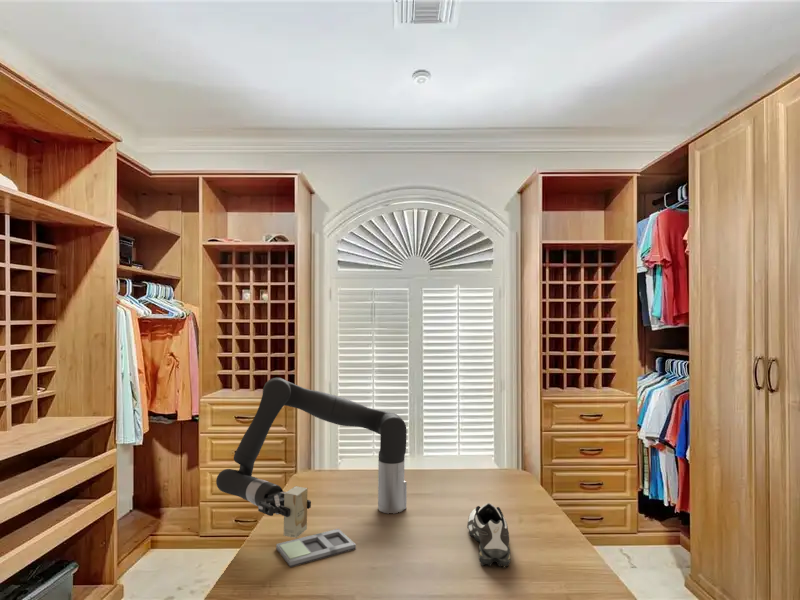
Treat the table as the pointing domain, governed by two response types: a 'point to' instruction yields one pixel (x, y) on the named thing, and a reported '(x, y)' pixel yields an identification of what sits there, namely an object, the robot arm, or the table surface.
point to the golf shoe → (490, 534)
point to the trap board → (315, 547)
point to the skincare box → (295, 511)
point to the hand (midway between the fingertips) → (299, 509)
